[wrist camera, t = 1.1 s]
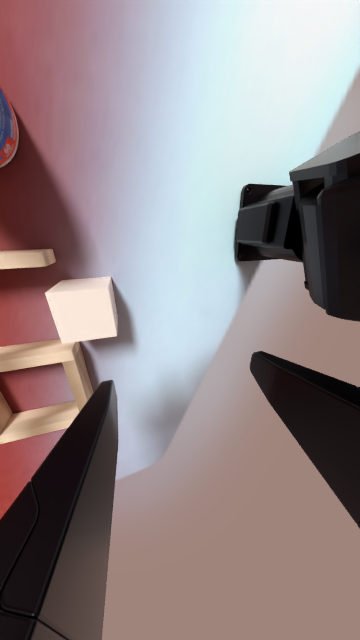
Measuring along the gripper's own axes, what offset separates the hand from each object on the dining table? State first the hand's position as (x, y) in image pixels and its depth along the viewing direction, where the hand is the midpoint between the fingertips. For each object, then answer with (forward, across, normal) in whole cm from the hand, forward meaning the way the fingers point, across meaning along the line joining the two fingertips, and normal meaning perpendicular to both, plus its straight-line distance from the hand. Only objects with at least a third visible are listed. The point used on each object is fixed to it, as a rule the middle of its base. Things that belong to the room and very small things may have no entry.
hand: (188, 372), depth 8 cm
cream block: (+12, +6, 0) cm, 13 cm away
